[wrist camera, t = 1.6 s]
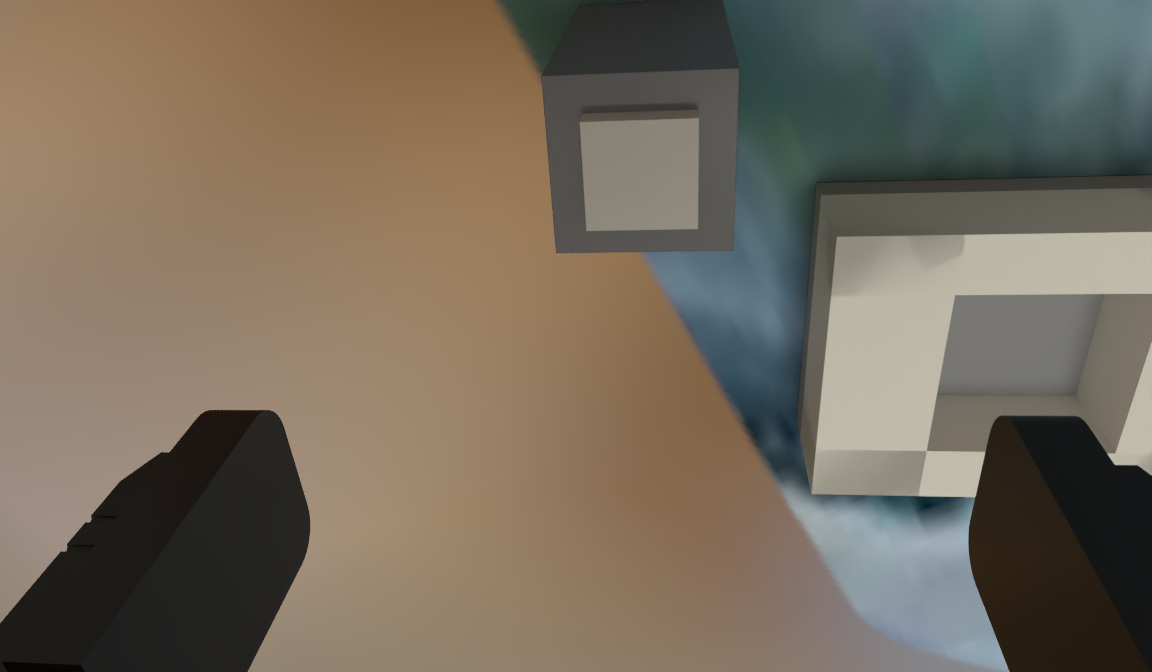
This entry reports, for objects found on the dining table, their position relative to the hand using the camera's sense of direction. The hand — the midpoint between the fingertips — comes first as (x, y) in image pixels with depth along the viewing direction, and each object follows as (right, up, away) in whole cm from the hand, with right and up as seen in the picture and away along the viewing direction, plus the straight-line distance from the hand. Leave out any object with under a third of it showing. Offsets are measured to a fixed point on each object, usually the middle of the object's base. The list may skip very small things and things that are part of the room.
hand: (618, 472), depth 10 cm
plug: (+2, +9, +15) cm, 18 cm away
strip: (+18, +2, +17) cm, 25 cm away
